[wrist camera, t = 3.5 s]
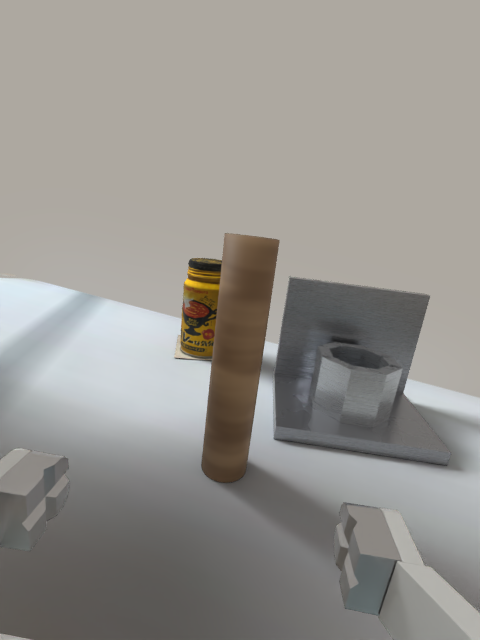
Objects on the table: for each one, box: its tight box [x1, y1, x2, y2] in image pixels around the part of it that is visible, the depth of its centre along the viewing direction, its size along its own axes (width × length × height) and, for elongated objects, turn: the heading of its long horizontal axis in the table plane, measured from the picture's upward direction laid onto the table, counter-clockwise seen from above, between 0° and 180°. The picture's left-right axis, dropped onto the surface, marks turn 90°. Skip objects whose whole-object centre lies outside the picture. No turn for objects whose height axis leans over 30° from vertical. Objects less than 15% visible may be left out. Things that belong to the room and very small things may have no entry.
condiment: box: [174, 258, 222, 360], centre depth 44 cm, size 7×8×12 cm
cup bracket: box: [273, 277, 451, 465], centre depth 31 cm, size 12×14×12 cm
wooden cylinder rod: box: [201, 233, 279, 483], centre depth 22 cm, size 3×3×16 cm
